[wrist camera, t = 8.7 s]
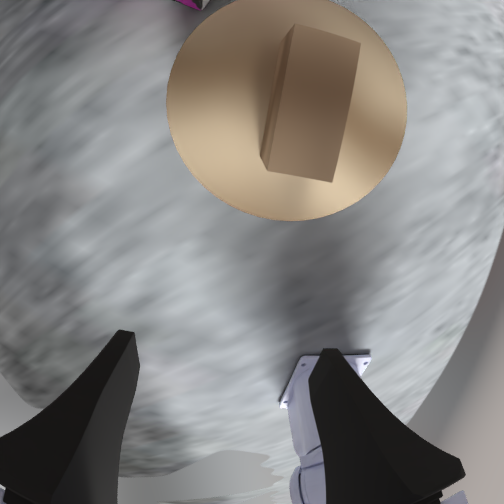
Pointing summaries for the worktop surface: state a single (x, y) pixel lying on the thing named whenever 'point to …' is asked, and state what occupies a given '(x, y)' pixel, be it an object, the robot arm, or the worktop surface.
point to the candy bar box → (194, 3)
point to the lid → (286, 107)
